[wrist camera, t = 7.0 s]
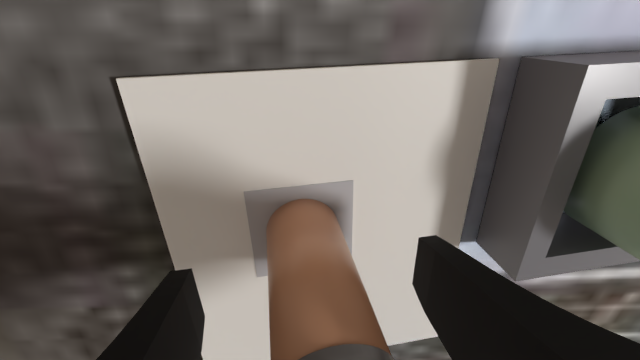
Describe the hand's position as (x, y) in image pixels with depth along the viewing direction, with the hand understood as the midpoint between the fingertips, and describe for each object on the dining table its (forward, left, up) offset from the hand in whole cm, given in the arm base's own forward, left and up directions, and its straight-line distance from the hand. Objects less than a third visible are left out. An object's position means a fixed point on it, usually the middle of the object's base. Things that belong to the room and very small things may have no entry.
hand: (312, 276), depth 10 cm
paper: (-1, -1, -3) cm, 3 cm away
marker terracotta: (0, 0, -2) cm, 3 cm away
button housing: (+2, -12, -3) cm, 12 cm away
